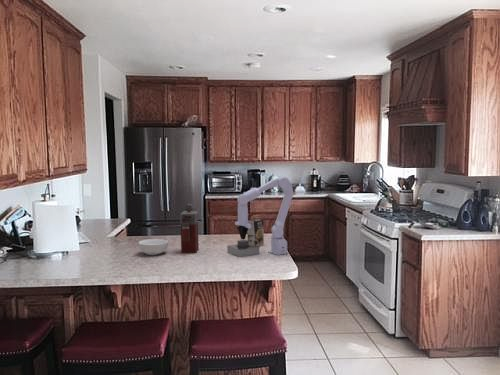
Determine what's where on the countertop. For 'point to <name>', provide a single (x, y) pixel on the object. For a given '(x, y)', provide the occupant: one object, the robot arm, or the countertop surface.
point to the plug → (243, 243)
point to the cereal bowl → (153, 246)
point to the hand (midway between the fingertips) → (243, 239)
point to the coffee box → (256, 232)
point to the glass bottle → (189, 230)
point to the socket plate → (243, 250)
